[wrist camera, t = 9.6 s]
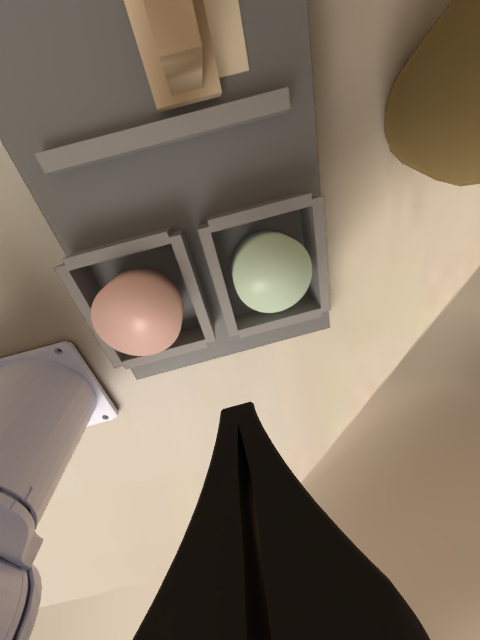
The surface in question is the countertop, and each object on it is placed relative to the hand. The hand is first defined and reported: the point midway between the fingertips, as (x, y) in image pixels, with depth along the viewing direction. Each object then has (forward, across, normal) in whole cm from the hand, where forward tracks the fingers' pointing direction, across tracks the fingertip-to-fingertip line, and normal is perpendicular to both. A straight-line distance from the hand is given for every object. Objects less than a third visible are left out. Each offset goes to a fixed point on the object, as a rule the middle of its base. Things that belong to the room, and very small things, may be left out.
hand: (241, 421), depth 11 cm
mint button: (+7, -3, -4) cm, 9 cm away
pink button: (+6, +4, -4) cm, 9 cm away
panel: (+9, 0, -9) cm, 13 cm away
